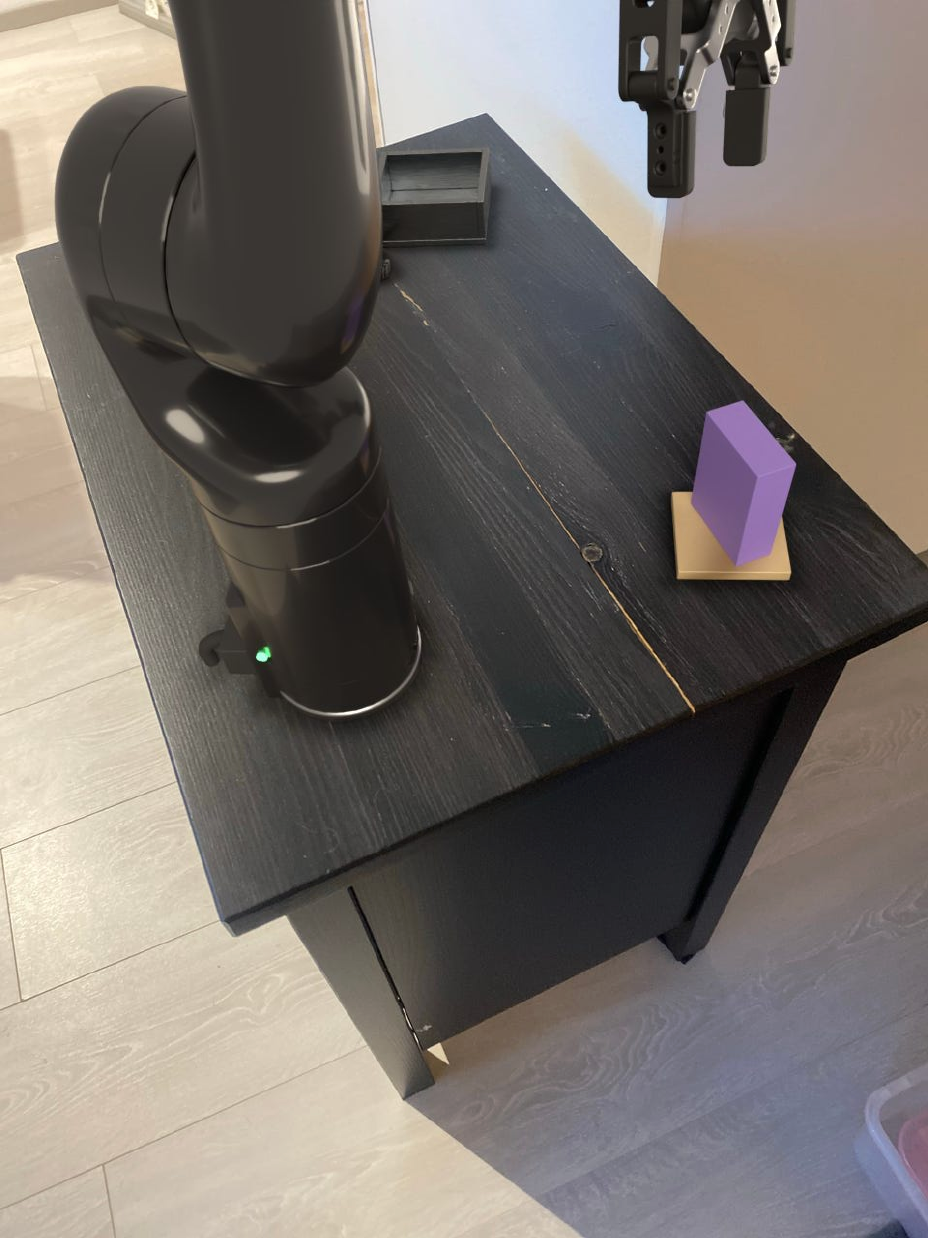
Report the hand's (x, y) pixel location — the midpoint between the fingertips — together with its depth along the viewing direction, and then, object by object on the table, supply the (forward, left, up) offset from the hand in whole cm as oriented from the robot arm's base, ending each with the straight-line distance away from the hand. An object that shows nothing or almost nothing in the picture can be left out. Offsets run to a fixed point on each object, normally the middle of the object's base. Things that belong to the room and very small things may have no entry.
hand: (709, 180), depth 49 cm
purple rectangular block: (+3, -6, -20) cm, 22 cm away
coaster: (+3, -6, -21) cm, 22 cm away
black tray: (-20, +33, -21) cm, 44 cm away
